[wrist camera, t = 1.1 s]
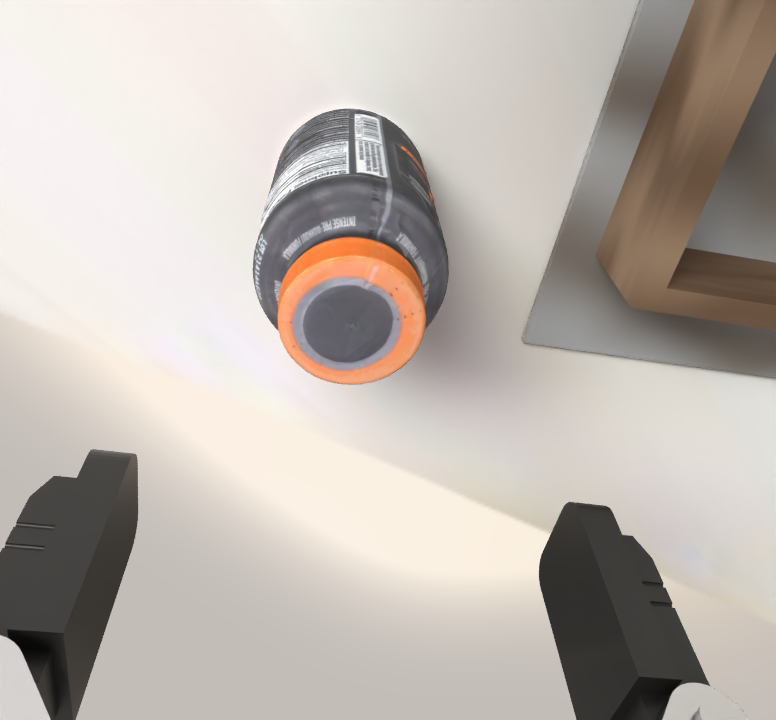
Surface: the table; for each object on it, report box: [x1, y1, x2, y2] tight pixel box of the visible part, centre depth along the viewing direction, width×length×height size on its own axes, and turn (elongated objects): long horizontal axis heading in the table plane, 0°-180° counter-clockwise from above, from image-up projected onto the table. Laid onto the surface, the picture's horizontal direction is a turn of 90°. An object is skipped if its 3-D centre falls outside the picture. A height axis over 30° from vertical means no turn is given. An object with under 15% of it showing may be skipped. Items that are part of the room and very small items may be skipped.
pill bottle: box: [253, 109, 449, 385], centre depth 23 cm, size 6×6×11 cm
